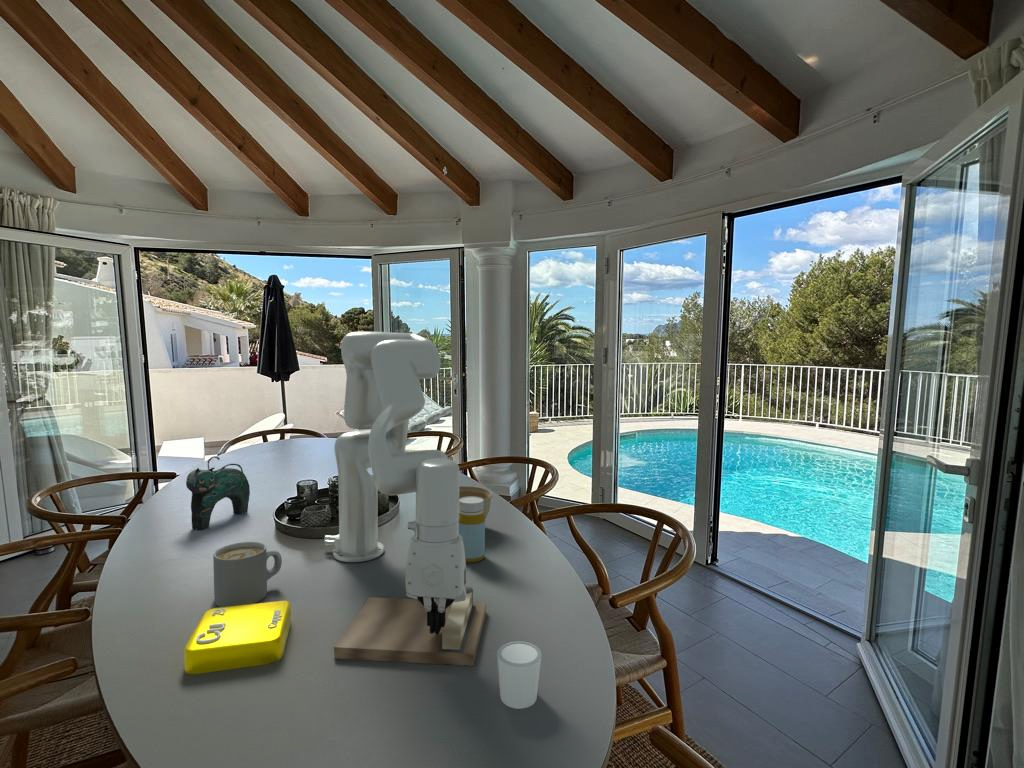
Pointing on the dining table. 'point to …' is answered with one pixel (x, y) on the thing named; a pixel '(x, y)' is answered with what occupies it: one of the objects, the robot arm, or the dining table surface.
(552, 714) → the dining table surface
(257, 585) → the coffee mug
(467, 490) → the planter bowl
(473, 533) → the bottle
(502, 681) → the shot glass
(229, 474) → the ceramic cat
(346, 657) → the stool seat
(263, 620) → the element tile
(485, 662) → the dining table surface
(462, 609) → the folding leg
